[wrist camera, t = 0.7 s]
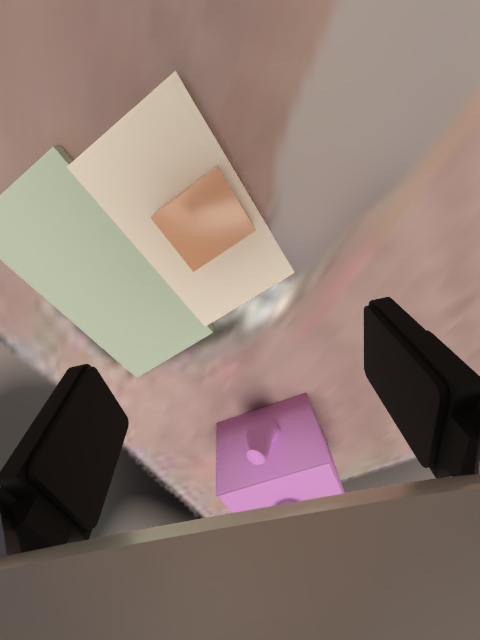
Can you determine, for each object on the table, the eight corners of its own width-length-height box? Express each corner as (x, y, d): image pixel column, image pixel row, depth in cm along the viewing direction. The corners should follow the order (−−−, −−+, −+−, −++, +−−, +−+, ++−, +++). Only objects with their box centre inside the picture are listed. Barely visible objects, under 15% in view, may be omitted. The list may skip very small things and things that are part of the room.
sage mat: (60, 146, 27) (53, 146, 26) (213, 326, 38) (212, 332, 37) (-25, 224, 30) (-36, 228, 29) (139, 370, 41) (136, 377, 40)
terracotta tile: (217, 164, 26) (217, 167, 24) (252, 222, 29) (256, 230, 26) (156, 210, 28) (150, 217, 25) (195, 261, 31) (193, 272, 28)
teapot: (291, 359, 42) (320, 445, 30) (332, 455, 55) (364, 544, 42) (196, 393, 44) (187, 486, 32) (256, 478, 57) (266, 568, 45)
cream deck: (179, 77, 25) (175, 70, 23) (289, 262, 34) (294, 272, 32) (80, 164, 28) (66, 166, 26) (205, 314, 37) (204, 326, 35)
